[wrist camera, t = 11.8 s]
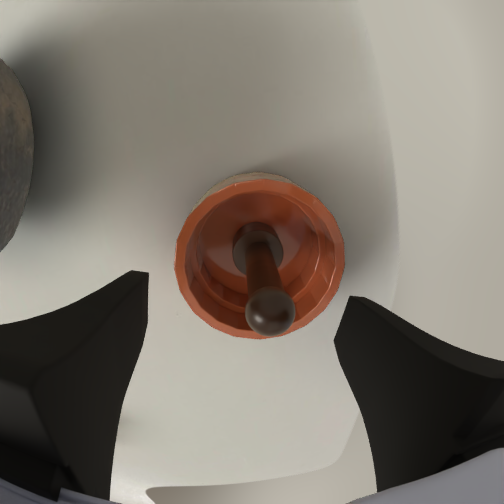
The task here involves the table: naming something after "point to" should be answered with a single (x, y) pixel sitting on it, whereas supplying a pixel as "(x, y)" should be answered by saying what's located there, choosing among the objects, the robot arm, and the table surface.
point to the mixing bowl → (291, 237)
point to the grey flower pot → (13, 152)
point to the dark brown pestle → (263, 279)
